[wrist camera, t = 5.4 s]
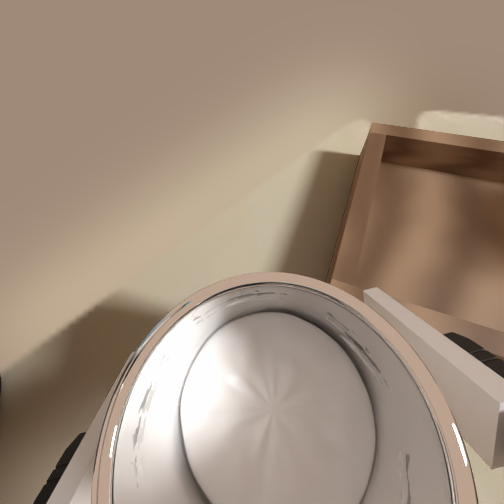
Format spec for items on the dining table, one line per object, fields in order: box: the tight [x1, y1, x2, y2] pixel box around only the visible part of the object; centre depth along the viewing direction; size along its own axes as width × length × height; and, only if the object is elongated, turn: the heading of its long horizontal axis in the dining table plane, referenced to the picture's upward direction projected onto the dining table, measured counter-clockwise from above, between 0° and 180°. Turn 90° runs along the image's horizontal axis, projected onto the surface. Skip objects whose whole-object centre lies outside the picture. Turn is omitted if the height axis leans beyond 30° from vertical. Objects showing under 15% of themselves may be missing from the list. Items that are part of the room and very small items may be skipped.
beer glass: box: [91, 272, 478, 504], centre depth 11 cm, size 7×7×15 cm
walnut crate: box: [326, 123, 504, 361], centre depth 19 cm, size 19×19×4 cm
